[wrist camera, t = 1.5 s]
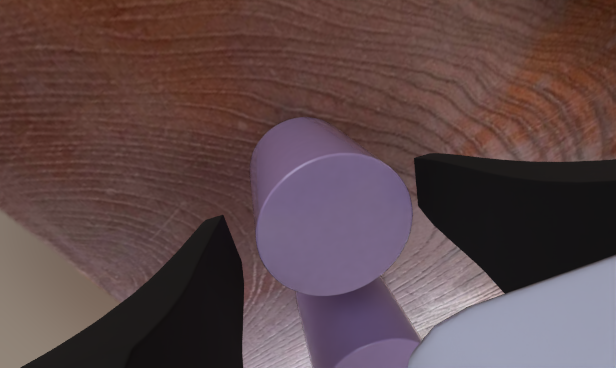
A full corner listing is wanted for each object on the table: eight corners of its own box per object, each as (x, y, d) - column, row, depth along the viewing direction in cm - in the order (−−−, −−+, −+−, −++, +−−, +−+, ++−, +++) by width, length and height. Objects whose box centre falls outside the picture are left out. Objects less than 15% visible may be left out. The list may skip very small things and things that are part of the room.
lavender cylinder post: (261, 226, 16) (272, 313, 11) (238, 127, 14) (238, 173, 9) (357, 205, 17) (413, 276, 11) (348, 107, 15) (413, 137, 9)
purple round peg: (302, 332, 19) (327, 440, 14) (289, 265, 17) (311, 360, 12) (381, 311, 20) (433, 405, 15) (377, 244, 18) (436, 324, 13)
